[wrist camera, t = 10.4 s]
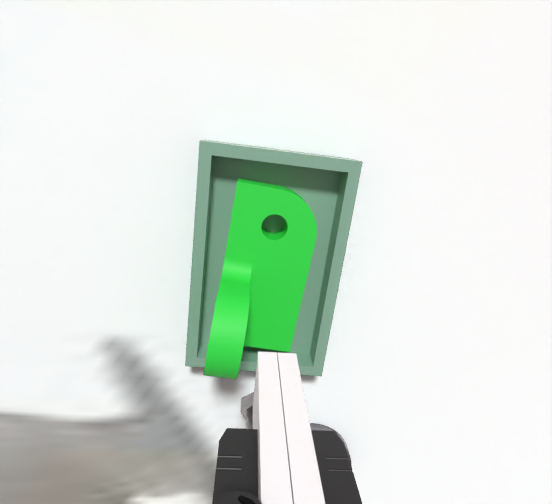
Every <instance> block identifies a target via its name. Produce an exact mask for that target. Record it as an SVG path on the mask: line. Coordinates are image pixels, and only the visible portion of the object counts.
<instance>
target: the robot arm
mask: <svg viewBox="0 0 552 504" xmlns="http://www.w3.org/2000/svg"><path fill="white" fill-rule="evenodd" d="M212 504H362V501H361V498H360V495H359V491H358V488H357V484H356V481H355V477H354V474H353V472H352V467H351V464H350V460H349V457H348V454H347V450H346V447H345V443H344V442H343V441H342V440H341V438H340V437H339V436H338V434H337V433H336V432H335V431H322V430H311V427H310V422H309V417H308V412H307V407H306V402H305V397H304V391H303V386H302V381H301V376H300V371H299V366H298V360H297V355H296V353H277V352H258V357H257V367H256V378H255V389H254V399H253V429H233V428H227V429H226V431H225V432H224V434H223V436H222V437H221V439H220V440H219V448H218V458H217V466H216V475H215V485H214V494H213V503H212Z"/></svg>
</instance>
